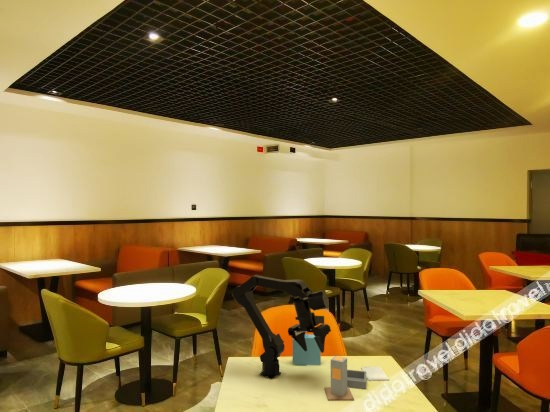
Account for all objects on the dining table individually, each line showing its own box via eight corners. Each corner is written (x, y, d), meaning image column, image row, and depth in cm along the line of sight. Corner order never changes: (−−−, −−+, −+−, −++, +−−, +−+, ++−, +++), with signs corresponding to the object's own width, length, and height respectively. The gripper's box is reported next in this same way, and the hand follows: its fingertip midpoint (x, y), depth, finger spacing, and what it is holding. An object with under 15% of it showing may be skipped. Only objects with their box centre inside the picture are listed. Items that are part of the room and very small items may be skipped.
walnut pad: (328, 401, 134) (327, 398, 134) (324, 390, 143) (324, 387, 143) (353, 401, 134) (353, 398, 134) (348, 389, 143) (348, 387, 143)
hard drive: (360, 366, 163) (368, 379, 150) (380, 366, 163) (389, 378, 150) (360, 370, 163) (368, 383, 150) (380, 370, 163) (389, 383, 150)
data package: (320, 362, 171) (320, 334, 171) (320, 366, 166) (320, 337, 166) (292, 361, 171) (292, 334, 172) (292, 365, 167) (292, 337, 167)
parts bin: (338, 387, 146) (338, 379, 146) (340, 376, 155) (340, 368, 155) (365, 390, 143) (365, 382, 143) (366, 379, 153) (366, 371, 153)
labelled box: (330, 393, 138) (330, 359, 138) (335, 388, 142) (335, 355, 142) (342, 396, 136) (342, 362, 136) (347, 391, 140) (347, 357, 140)
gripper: (334, 304, 151) (345, 344, 149) (301, 306, 164) (311, 342, 163) (315, 314, 143) (326, 356, 142) (282, 315, 157) (292, 353, 156)
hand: (314, 351), depth 151 cm, fingers open, 9 cm apart
